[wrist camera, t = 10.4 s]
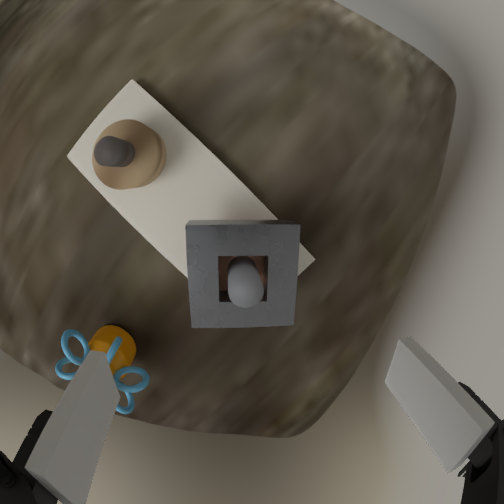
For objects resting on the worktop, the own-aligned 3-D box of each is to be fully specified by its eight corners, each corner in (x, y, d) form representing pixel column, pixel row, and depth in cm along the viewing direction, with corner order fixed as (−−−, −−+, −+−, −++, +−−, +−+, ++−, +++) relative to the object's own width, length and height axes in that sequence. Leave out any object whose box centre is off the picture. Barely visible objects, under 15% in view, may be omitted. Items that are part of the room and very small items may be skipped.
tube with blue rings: (86, 367, 32) (45, 439, 18) (70, 303, 30) (6, 369, 15) (163, 378, 34) (143, 467, 19) (156, 313, 31) (118, 401, 17)
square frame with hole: (189, 220, 23) (185, 225, 21) (293, 219, 24) (300, 224, 22) (194, 314, 26) (191, 327, 23) (287, 312, 27) (293, 325, 24)
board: (71, 156, 25) (66, 156, 24) (135, 82, 24) (131, 79, 23) (242, 320, 32) (243, 325, 31) (312, 256, 31) (315, 259, 30)
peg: (192, 257, 28) (178, 292, 20) (240, 209, 28) (246, 223, 19) (239, 300, 30) (245, 347, 21) (286, 256, 29) (311, 289, 21)
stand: (98, 160, 25) (61, 158, 17) (138, 114, 24) (110, 96, 17) (136, 200, 26) (107, 209, 19) (179, 153, 25) (162, 145, 18)
